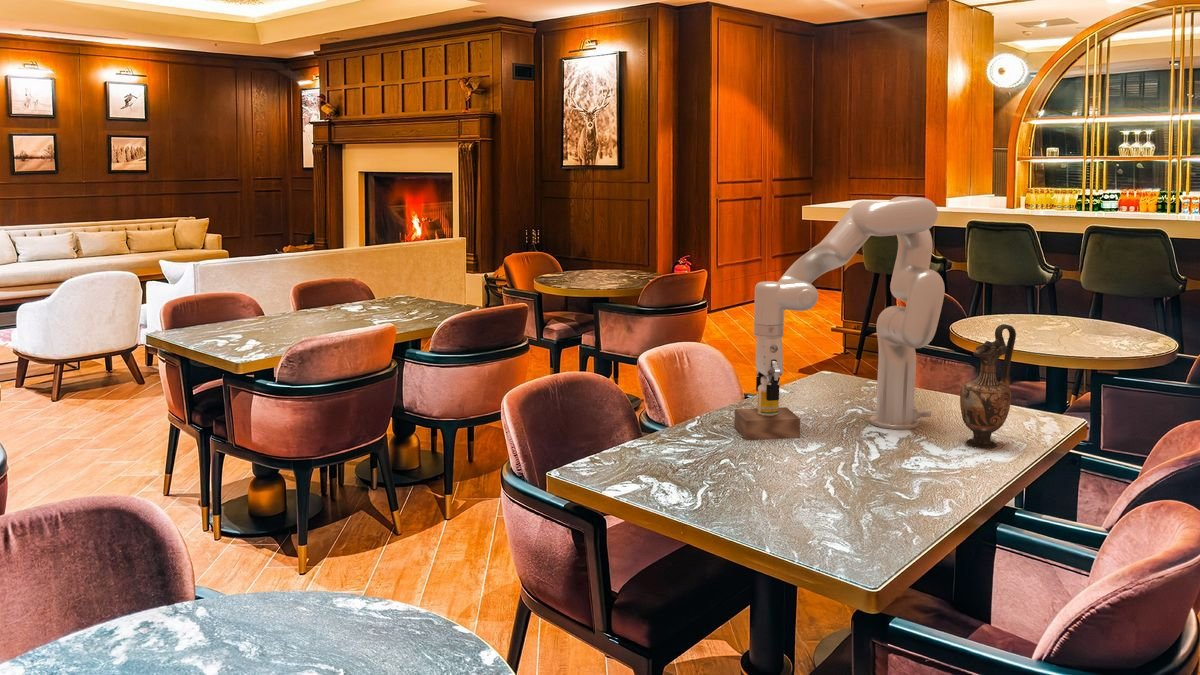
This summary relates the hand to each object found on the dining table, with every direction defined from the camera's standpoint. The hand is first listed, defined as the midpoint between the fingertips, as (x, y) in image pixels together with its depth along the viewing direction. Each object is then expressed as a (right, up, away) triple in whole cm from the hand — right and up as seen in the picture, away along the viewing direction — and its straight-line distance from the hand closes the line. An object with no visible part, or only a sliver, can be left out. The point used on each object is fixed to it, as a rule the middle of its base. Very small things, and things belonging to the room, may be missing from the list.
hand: (767, 395), depth 245 cm
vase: (+51, -12, -11) cm, 54 cm away
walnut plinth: (0, -10, +2) cm, 10 cm away
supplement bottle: (0, -5, +1) cm, 5 cm away
